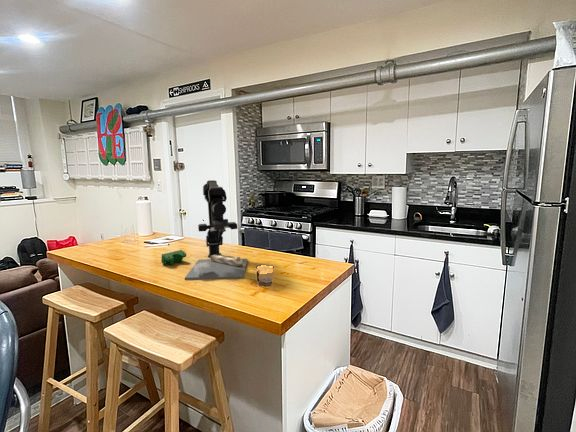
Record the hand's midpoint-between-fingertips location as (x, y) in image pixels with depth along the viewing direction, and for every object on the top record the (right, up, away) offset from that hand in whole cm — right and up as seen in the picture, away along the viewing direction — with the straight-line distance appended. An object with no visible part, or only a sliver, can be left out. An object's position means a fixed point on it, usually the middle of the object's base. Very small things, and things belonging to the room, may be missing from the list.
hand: (218, 243), depth 158 cm
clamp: (-25, -12, +7) cm, 28 cm away
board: (+1, -13, -3) cm, 13 cm away
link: (+3, -10, +3) cm, 11 cm away
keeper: (-4, -14, -12) cm, 19 cm away
